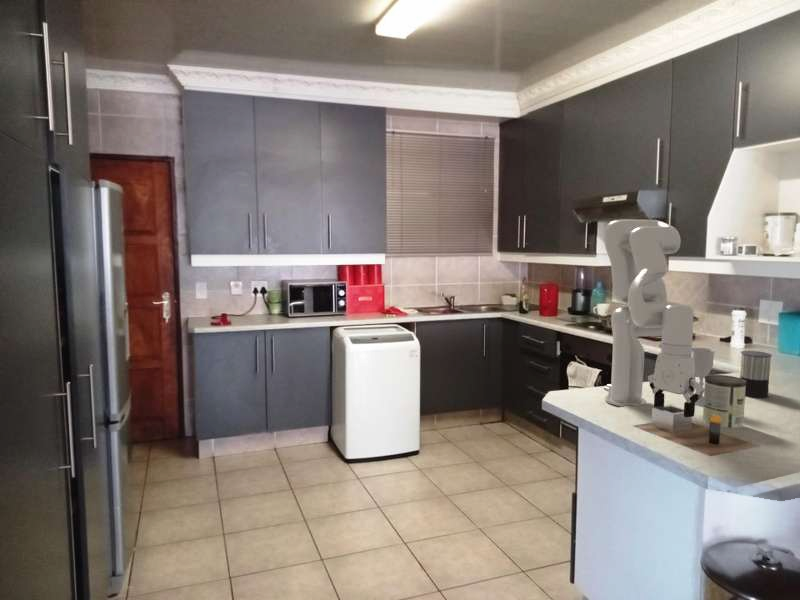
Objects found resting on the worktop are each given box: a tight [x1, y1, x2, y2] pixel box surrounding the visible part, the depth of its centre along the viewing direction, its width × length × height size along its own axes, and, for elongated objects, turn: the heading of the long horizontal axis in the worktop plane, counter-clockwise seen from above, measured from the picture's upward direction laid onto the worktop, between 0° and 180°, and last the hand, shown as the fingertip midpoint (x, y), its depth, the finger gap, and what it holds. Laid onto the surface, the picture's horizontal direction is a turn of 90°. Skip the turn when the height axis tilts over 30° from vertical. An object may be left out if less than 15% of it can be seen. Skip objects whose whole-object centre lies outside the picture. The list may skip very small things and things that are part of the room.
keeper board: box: [633, 422, 760, 457], centre depth 148 cm, size 24×18×2 cm
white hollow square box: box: [650, 404, 693, 433], centre depth 154 cm, size 7×7×5 cm
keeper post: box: [708, 414, 722, 444], centre depth 142 cm, size 3×3×7 cm
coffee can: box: [702, 374, 747, 429], centre depth 159 cm, size 10×10×14 cm
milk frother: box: [739, 350, 773, 399], centre depth 198 cm, size 14×16×15 cm
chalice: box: [692, 347, 716, 407], centre depth 182 cm, size 7×7×18 cm
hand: (673, 412), depth 153 cm, fingers open, 9 cm apart
